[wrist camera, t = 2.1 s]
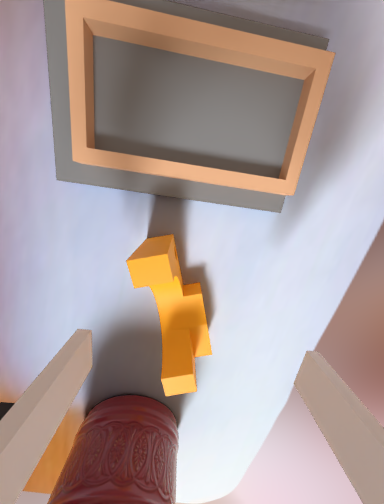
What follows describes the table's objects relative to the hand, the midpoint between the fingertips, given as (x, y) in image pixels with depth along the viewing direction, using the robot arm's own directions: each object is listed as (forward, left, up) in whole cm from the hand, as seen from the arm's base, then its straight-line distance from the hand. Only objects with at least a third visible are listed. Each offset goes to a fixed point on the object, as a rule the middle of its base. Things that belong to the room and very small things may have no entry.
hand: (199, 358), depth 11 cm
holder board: (-3, +15, -8) cm, 18 cm away
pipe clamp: (-1, 0, -9) cm, 9 cm away
